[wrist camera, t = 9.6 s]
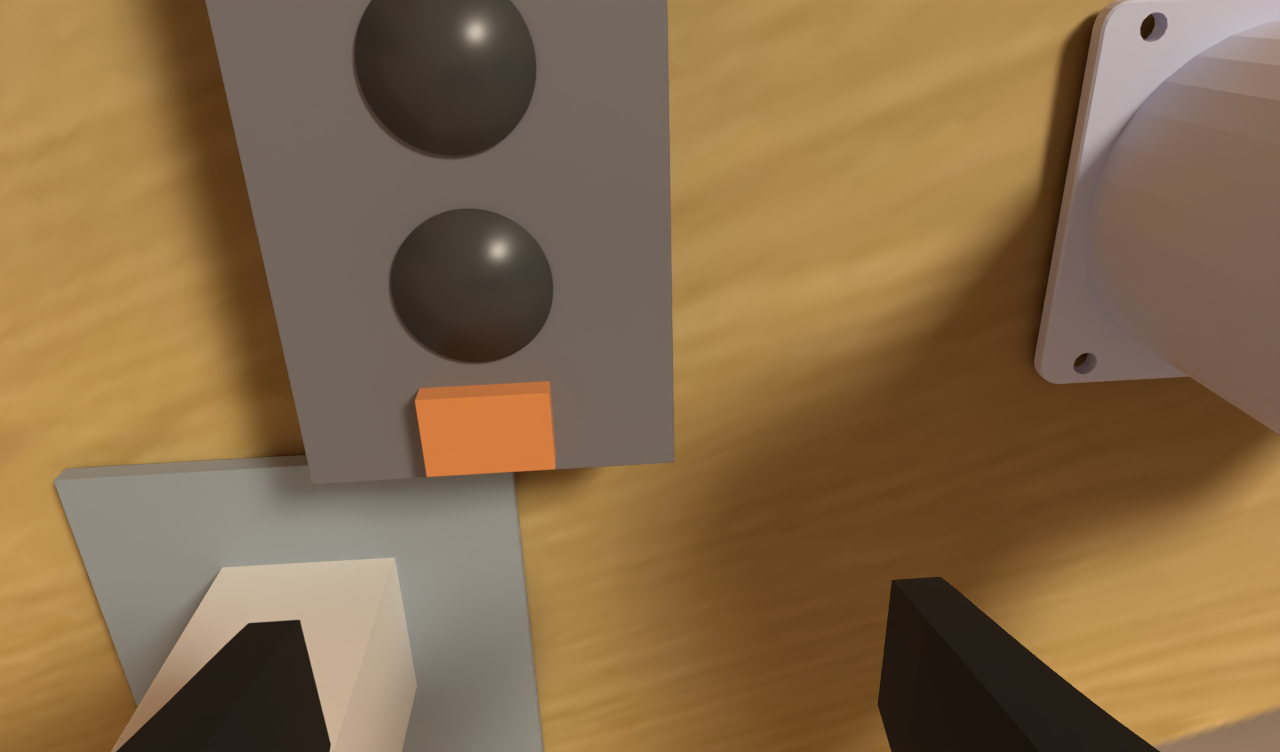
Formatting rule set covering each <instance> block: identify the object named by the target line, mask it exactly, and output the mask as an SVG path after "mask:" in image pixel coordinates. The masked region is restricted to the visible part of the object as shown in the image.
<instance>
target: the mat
mask: <svg viewBox="0 0 1280 752" xmlns="http://www.w3.org/2000/svg"><path fill="white" fill-rule="evenodd" d="M53 481H54V483H55V486H56V489H57V491H58V494H59V497H60V499H61V502H62V505H63V508H64V510H65V513H66V516H67V518H68V521H69V524H70V527H71V529H72V532H73V535H74V537H75V540H76V543H77V546H78V548H79V551H80V554H81V556H82V559H83V562H84V565H85V567H86V570H87V573H88V575H89V578H90V581H91V584H92V586H93V589H94V592H95V594H96V597H97V600H98V603H99V605H100V608H101V611H102V613H103V616H104V619H105V622H106V624H107V627H108V630H109V632H110V635H111V638H112V641H113V643H114V646H115V649H116V651H117V654H118V657H119V660H120V662H121V665H122V668H123V670H124V673H125V676H126V678H127V681H128V684H129V687H130V689H131V692H132V695H133V697H134V700H135V703H136V706H137V707H138V706H139V704H140V702H141V701H142V699H143V697H144V696H145V694H146V692H147V691H148V689H149V687H150V686H151V684H152V683H153V681H154V679H155V678H156V676H157V674H158V673H159V671H160V669H161V668H162V666H163V664H164V663H165V661H166V659H167V658H168V656H169V654H170V653H171V651H172V650H173V648H174V646H175V645H176V643H177V641H178V640H179V638H180V636H181V635H182V633H183V631H184V630H185V628H186V626H187V625H188V623H189V622H190V620H191V618H192V617H193V615H194V613H195V612H196V610H197V608H198V607H199V605H200V603H201V602H202V600H203V598H204V597H205V595H206V594H207V592H208V590H209V589H210V587H211V585H212V584H213V582H214V580H215V579H216V577H217V575H218V574H219V572H220V570H221V569H222V567H238V566H256V565H273V564H291V563H308V562H326V561H343V560H361V559H378V558H395V561H396V567H397V573H398V578H399V584H400V590H401V596H402V602H403V607H404V613H405V619H406V625H407V631H408V636H409V642H410V648H411V654H412V659H413V665H414V671H415V677H416V683H417V688H416V692H415V696H414V701H413V705H412V709H411V714H410V718H409V723H408V727H407V731H406V736H405V740H404V744H403V749H402V752H544V748H543V738H542V729H541V719H540V710H539V701H538V691H537V682H536V672H535V663H534V654H533V644H532V635H531V626H530V616H529V607H528V597H527V588H526V579H525V569H524V560H523V550H522V541H521V532H520V522H519V513H518V503H517V494H516V485H515V475H514V472H504V473H487V474H470V475H454V476H437V477H420V478H403V479H387V480H370V481H353V482H336V483H319V484H312V479H311V475H310V470H309V466H308V461H307V457H306V455H293V456H276V457H259V458H242V459H224V460H207V461H190V462H173V463H156V464H138V465H121V466H104V467H87V468H69V469H65V470H64V471H63V472H62V473H61V474H60V475H59V476H58V477H56V478H55V479H54V480H53Z"/></svg>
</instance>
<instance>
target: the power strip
mask: <svg viewBox="0 0 1280 752" xmlns="http://www.w3.org/2000/svg"><path fill="white" fill-rule="evenodd" d="M205 2H206V6H207V11H208V15H209V20H210V24H211V29H212V33H213V38H214V42H215V47H216V51H217V56H218V60H219V65H220V69H221V74H222V78H223V83H224V87H225V92H226V96H227V101H228V105H229V110H230V114H231V119H232V123H233V128H234V132H235V137H236V141H237V146H238V150H239V155H240V159H241V164H242V168H243V173H244V177H245V182H246V186H247V191H248V195H249V200H250V204H251V209H252V213H253V218H254V222H255V227H256V231H257V236H258V240H259V245H260V249H261V254H262V258H263V263H264V267H265V272H266V276H267V281H268V285H269V290H270V294H271V299H272V303H273V308H274V312H275V317H276V321H277V326H278V330H279V335H280V339H281V344H282V348H283V353H284V357H285V362H286V366H287V371H288V375H289V380H290V384H291V389H292V393H293V398H294V403H295V407H296V412H297V416H298V421H299V425H300V430H301V434H302V439H303V443H304V448H305V452H306V457H307V461H308V466H309V470H310V475H311V479H312V484H319V483H336V482H353V481H370V480H387V479H403V478H420V477H437V476H454V475H470V474H487V473H504V472H521V471H538V470H554V469H571V468H588V467H605V466H622V465H638V464H655V463H672V462H675V461H674V398H673V334H672V271H671V207H670V144H669V80H668V17H667V0H205Z"/></svg>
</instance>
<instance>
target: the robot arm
mask: <svg viewBox="0 0 1280 752" xmlns="http://www.w3.org/2000/svg"><path fill="white" fill-rule="evenodd" d="M1149 14H1152V15H1153V17H1154V18H1155V27H1154V29H1153V31H1152V33H1151V34H1150V35H1149V36H1148V37H1147V38H1146V39H1144V40H1143V38H1142V37H1141V35H1140V27H1141V24H1142V22H1143V20H1144V19H1145V18H1146V17H1147V16H1148V15H1149ZM1084 353H1087V358H1086V360H1085V362H1083V363H1082V364H1081V365H1080V366H1076V367H1074V362H1075V360H1076V358H1078V357H1079V356H1080V355H1081V354H1084ZM1034 367H1035V369H1036V371H1037V373H1038V374H1039V375H1040V376H1041V377H1043V378H1044V379H1045V380H1047V381H1048V382H1050V383H1055V384H1067V383H1085V382H1103V381H1120V380H1138V379H1156V378H1174V377H1191V378H1192V379H1194V380H1195V381H1197V382H1198V383H1200V384H1202V385H1203V386H1205V387H1206V388H1208V389H1209V390H1211V391H1212V392H1214V393H1215V394H1217V395H1218V396H1220V397H1222V398H1223V399H1225V400H1226V401H1228V402H1229V403H1231V404H1232V405H1234V406H1235V407H1237V408H1239V409H1240V410H1242V411H1243V412H1245V413H1246V414H1248V415H1249V416H1251V417H1252V418H1254V419H1255V420H1257V421H1259V422H1260V423H1262V424H1263V425H1265V426H1266V427H1268V428H1269V429H1271V430H1272V431H1274V432H1276V433H1277V434H1279V435H1280V0H1118V1H1114V2H1112V3H1110V4H1109V5H1107V6H1106V7H1104V8H1103V10H1102V11H1101V12H1100V14H1099V15H1098V16H1097V17H1096V20H1095V23H1094V26H1093V29H1092V35H1091V41H1090V46H1089V52H1088V58H1087V63H1086V69H1085V75H1084V80H1083V86H1082V92H1081V97H1080V103H1079V109H1078V114H1077V120H1076V126H1075V131H1074V137H1073V143H1072V148H1071V154H1070V160H1069V165H1068V171H1067V177H1066V182H1065V188H1064V194H1063V199H1062V205H1061V211H1060V216H1059V222H1058V228H1057V233H1056V239H1055V245H1054V250H1053V256H1052V262H1051V267H1050V273H1049V279H1048V284H1047V290H1046V296H1045V302H1044V307H1043V313H1042V319H1041V324H1040V330H1039V336H1038V341H1037V347H1036V353H1035V358H1034ZM878 707H879V710H880V714H881V717H882V721H883V724H884V728H885V731H886V734H887V738H888V741H889V745H890V748H891V751H892V752H1160V751H1158V750H1157V749H1156V748H1154V747H1153V746H1151V745H1150V744H1149V743H1147V742H1146V741H1145V740H1143V739H1142V738H1140V737H1139V736H1138V735H1136V734H1135V733H1134V732H1132V731H1131V730H1129V729H1128V728H1127V727H1125V726H1124V725H1123V724H1121V723H1120V722H1119V721H1117V720H1116V719H1115V718H1113V717H1112V716H1111V715H1109V714H1108V713H1107V712H1105V711H1104V710H1103V709H1101V708H1100V707H1099V706H1098V705H1096V704H1095V703H1094V702H1092V701H1091V700H1090V699H1088V698H1087V697H1086V696H1085V695H1083V694H1082V693H1081V692H1080V691H1078V690H1077V689H1076V688H1074V687H1073V686H1072V685H1071V684H1069V683H1068V682H1067V681H1066V680H1064V679H1063V678H1062V677H1061V676H1059V675H1058V674H1057V673H1056V672H1054V671H1053V670H1052V669H1051V668H1049V667H1048V666H1047V665H1046V664H1045V663H1043V662H1042V661H1041V660H1040V659H1039V658H1037V657H1036V656H1035V655H1034V654H1032V653H1031V652H1030V651H1029V650H1028V649H1026V648H1025V647H1024V646H1023V645H1022V644H1020V643H1019V642H1018V641H1017V640H1016V639H1014V638H1013V637H1012V636H1011V635H1010V634H1008V633H1007V632H1006V631H1005V630H1004V629H1002V628H1001V627H1000V626H999V625H998V624H997V623H995V622H994V621H993V620H992V619H991V618H989V617H988V616H987V615H986V614H985V613H984V612H982V611H981V610H980V609H979V608H978V607H976V606H975V605H974V604H973V603H972V602H971V601H969V600H968V599H967V598H966V597H965V596H963V595H962V594H961V593H960V592H959V591H957V590H956V589H955V588H954V587H953V586H951V585H950V584H949V583H948V582H946V581H945V580H944V579H943V578H941V577H931V578H916V579H901V580H892V585H891V593H890V602H889V611H888V620H887V628H886V637H885V646H884V655H883V664H882V672H881V681H880V690H879V699H878ZM330 747H331V743H330V739H329V735H328V731H327V727H326V723H325V719H324V715H323V711H322V707H321V703H320V699H319V694H318V690H317V686H316V682H315V678H314V674H313V670H312V666H311V662H310V658H309V654H308V650H307V646H306V642H305V638H304V634H303V630H302V626H301V622H300V620H286V621H271V622H256V623H248V624H247V625H246V626H245V627H244V628H243V629H241V630H240V631H239V632H238V633H237V634H236V635H235V636H234V637H233V638H232V639H231V640H230V641H229V642H228V643H227V644H226V645H225V646H224V647H223V648H222V649H221V650H220V651H219V652H218V653H217V654H216V655H215V656H213V657H212V658H211V659H210V660H209V661H208V662H207V663H206V664H205V665H204V666H203V667H202V668H201V669H200V670H199V671H198V672H197V673H196V674H195V675H194V676H193V677H192V678H191V679H190V680H189V681H188V682H187V683H186V684H185V685H184V686H183V687H182V688H181V689H180V690H179V691H178V692H177V693H176V694H175V695H174V696H173V697H172V698H171V699H170V700H169V701H168V702H167V703H166V704H165V705H164V706H163V707H162V708H161V709H160V710H159V711H158V712H157V713H156V714H155V715H154V716H153V717H151V718H150V719H149V720H148V721H147V722H146V723H145V724H144V725H143V726H142V727H141V728H140V729H139V730H138V731H137V732H136V733H135V734H134V735H133V736H132V737H131V738H130V739H129V740H128V741H127V742H126V743H124V744H123V745H122V746H121V747H120V748H119V749H118V750H117V751H116V752H330Z"/></svg>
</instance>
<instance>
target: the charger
mask: <svg viewBox="0 0 1280 752" xmlns="http://www.w3.org/2000/svg"><path fill="white" fill-rule="evenodd" d="M286 620H300V622H301V626H302V630H303V634H304V638H305V642H306V646H307V650H308V654H309V658H310V662H311V666H312V670H313V674H314V678H315V682H316V686H317V690H318V694H319V699H320V703H321V707H322V711H323V715H324V719H325V723H326V727H327V731H328V735H329V739H330V743H331V747H330V752H402V749H403V744H404V740H405V736H406V731H407V727H408V723H409V718H410V714H411V709H412V705H413V701H414V696H415V692H416V688H417V683H416V677H415V671H414V665H413V659H412V654H411V648H410V642H409V636H408V631H407V625H406V619H405V613H404V607H403V602H402V596H401V590H400V584H399V578H398V573H397V567H396V561H395V558H378V559H361V560H343V561H326V562H308V563H291V564H273V565H256V566H238V567H222V569H221V570H220V572H219V574H218V575H217V577H216V579H215V580H214V582H213V584H212V585H211V587H210V589H209V590H208V592H207V594H206V595H205V597H204V598H203V600H202V602H201V603H200V605H199V607H198V608H197V610H196V612H195V613H194V615H193V617H192V618H191V620H190V622H189V623H188V625H187V626H186V628H185V630H184V631H183V633H182V635H181V636H180V638H179V640H178V641H177V643H176V645H175V646H174V648H173V650H172V651H171V653H170V654H169V656H168V658H167V659H166V661H165V663H164V664H163V666H162V668H161V669H160V671H159V673H158V674H157V676H156V678H155V679H154V681H153V683H152V684H151V686H150V687H149V689H148V691H147V692H146V694H145V696H144V697H143V699H142V701H141V702H140V704H139V706H138V707H137V709H136V711H135V712H134V714H133V715H132V717H131V719H130V720H129V722H128V724H127V725H126V727H125V729H124V730H123V732H122V734H121V735H120V737H119V739H118V740H117V742H116V744H115V745H114V747H113V748H112V750H111V752H116V751H117V750H118V749H119V748H120V747H121V746H122V745H123V744H124V743H126V742H127V741H128V740H129V739H130V738H131V737H132V736H133V735H134V734H135V733H136V732H137V731H138V730H139V729H140V728H141V727H142V726H143V725H144V724H145V723H146V722H147V721H148V720H149V719H150V718H151V717H153V716H154V715H155V714H156V713H157V712H158V711H159V710H160V709H161V708H162V707H163V706H164V705H165V704H166V703H167V702H168V701H169V700H170V699H171V698H172V697H173V696H174V695H175V694H176V693H177V692H178V691H179V690H180V689H181V688H182V687H183V686H184V685H185V684H186V683H187V682H188V681H189V680H190V679H191V678H192V677H193V676H194V675H195V674H196V673H197V672H198V671H199V670H200V669H201V668H202V667H203V666H204V665H205V664H206V663H207V662H208V661H209V660H210V659H211V658H212V657H213V656H215V655H216V654H217V653H218V652H219V651H220V650H221V649H222V648H223V647H224V646H225V645H226V644H227V643H228V642H229V641H230V640H231V639H232V638H233V637H234V636H235V635H236V634H237V633H238V632H239V631H240V630H241V629H243V628H244V627H245V626H246V625H247V624H248V623H256V622H271V621H286Z"/></svg>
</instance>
